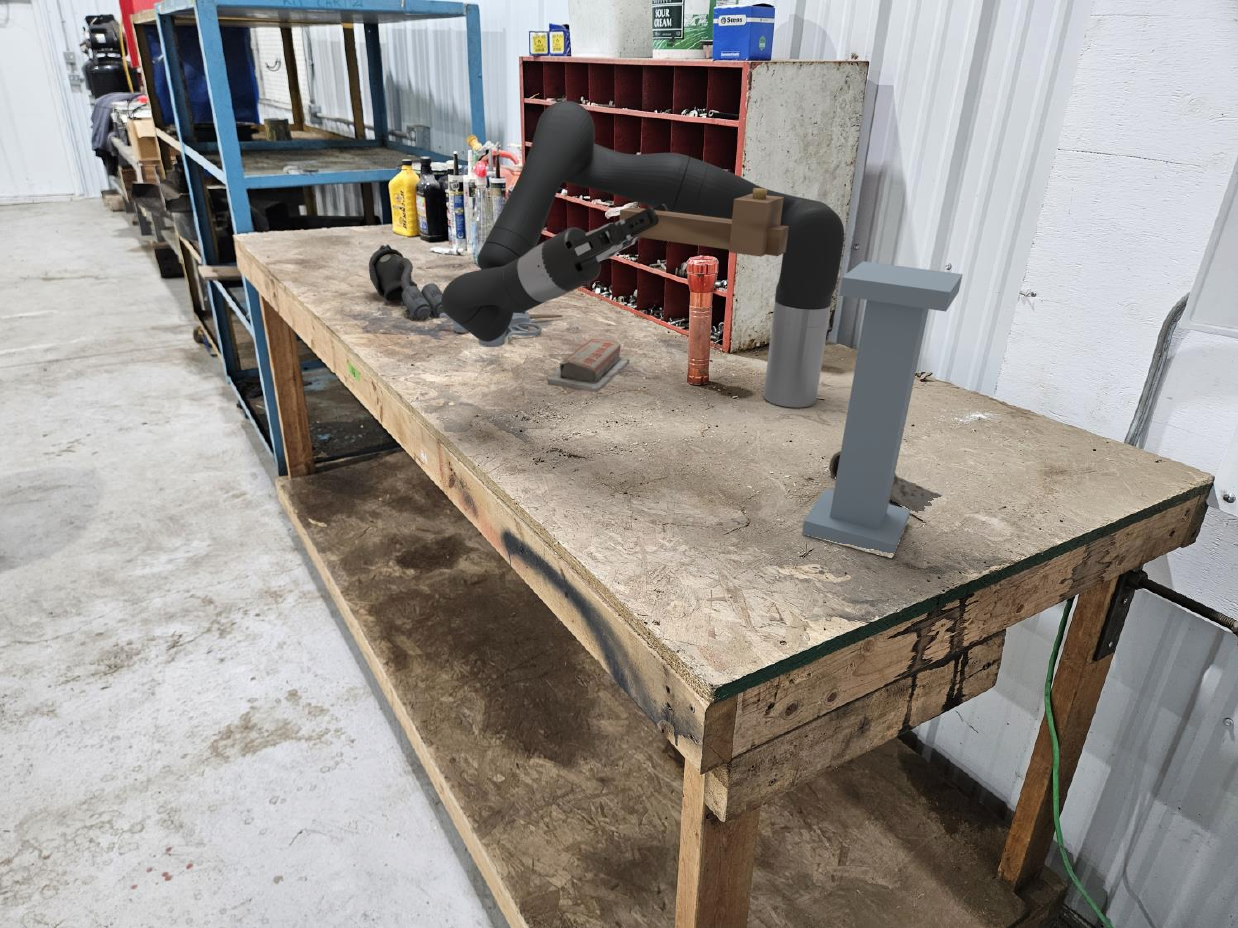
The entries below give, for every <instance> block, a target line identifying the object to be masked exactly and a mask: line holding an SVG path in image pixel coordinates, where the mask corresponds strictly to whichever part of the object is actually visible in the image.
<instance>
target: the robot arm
mask: <svg viewBox="0 0 1238 928" xmlns="http://www.w3.org/2000/svg"><path fill="white" fill-rule="evenodd" d="M535 129H536V130H535V132H534V135H533V139H532V142H531V146H530V148H529V151H528V154H527V156H526V158H525V162H524V163H523V165H522V166H523V167H522V169H521V171H520V172H519V173H520V174H519V175H518V178H517V179H516V182H515V183H514V186H513V188H512V190H511V193H510V194H509V196H508V199H507V200H506V202H505V204H504V205H503V208H502V209H501V211H500V214H498V216H497V219H496V221H495V222H494V224H493V226H492V228H491V230H490V231H489V233H488V235H487V237H486V240H485V241H484V242H483V245H482V246H481V249H480V251H479V252H478V255H477V259H476V261H477V265H478V267H479V270H474V271H469V272H466V273H463V274H461V275H459V276H457V277H455V278H454V279H453V280H451V281H450V282H449V283H448V284H447V285H446V287H445V288H444V290H443V291H442V293H443V294H442V298H441V304H442V308H443V310H444V312H445V313H446V314H447V315H448V316H449V317H450V318H451V319H450V320H452V321H453V320H454V321H455V322H456V323H458V324H459V325H460V326H462V327H463V328H464V329H466V330H467V331H469V334H471V335H472V336H474V337H475V338H477V339H478V340H479V339H480V340H481V341H485V342H490V341H493V340H496V339H497V338H499V337H500V336H502V335H503V334H504V332H505V331H506V330H507V328H508V327H509V325H510V322H511V320H512V317H513V313H522V312H525V311H527V312H528V311H530V310H531V309H533V308H535V307H538V306H540V305H542V304H544V303H547V302H548V301H551V300H555V299H558V298H560V297H563V296H564V295H566V294H568V293H570V292H572V291H575V290H577V289H579V288H581V287H583V286H585V285H587V284H589V283H591V282H594V281H595V280H596V279H597V278H598V277H599V276H600V273H601V270H602V261H603V260H608V259H611V258H613V257H614V256H616V255H618V254H619V252H621V251H622V250H624V249H627V248H629V247H630V246H633V245H635V243H636V241H638V240H639V239H642V237H635V235H637V234H639V233H641V232H643V231H645V230H647V229H649V228H651V227H653V226H655V225H657V224H658V218H657V216H656V213H655V210H658V211H667V212H675V213H683V214H691V215H700V216H708V217H716V218H724V219H732V216H733V205H734V199H737V198H740V197H743V196H746V195H749V194H753V189H754V188H762V189H767V195H768V196H777V197H784V199H783V207H782V215H781V223H780V225H782V226H789V229H788V237H787V244H786V252H785V253H783V254H782V259H781V266H780V274H779V278H778V282H777V284H776V288H775V294H774V295H775V296H774V304H773V305H774V306H773V312H772V321H771V322H772V323H771V330H770V336H769V347H768V355H767V365H766V370H765V376H764V378H765V379H764V385H763V387H764V388H763V398H764V400H766V401H768V403H769V402H770V403H771V404H774V405H777V406H780V407H786V408H805V407H810V406H813V405H814V404H816V402H817V396H818V392H819V391H818V390H819V384H820V379H821V371H822V365H823V358H824V352H825V347H826V346H825V344H826V340H827V339H826V338H827V333H828V327H829V326H828V324H829V317H830V313H831V305H832V301H833V300H832V299H833V294H834V292H835V290H836V287H837V284H838V277H839V272H840V267H841V260H842V255H843V248H844V243H845V229H844V223H843V220H842V219H841V217H840V216H839V215H838V213H837V212H836V211H835V210H834V209H832V208H831V207H830V206H829V205H828V204H826V203H825V202H822V201H818V200H814V199H811V198H809V199H808V198H804V197H800V196H796V195H790V194H786V193H781V192H778V191H774V190H772V189H769V188H765V187H762V186H760V185H757V184H756V183H753V182H751V181H750V180H747V179H745V178H743V177H741V176H739V175H737V174H735V173H734V172H731V171H728V170H727V169H723V168H721V167H718V166H716V165H714V164H711V163H708V162H707V161H703V160H700V159H698V158H694V157H691V156H689V155H686V154H681V153H676V152H659V153H643V154H640V153H639V154H631V153H629V154H628V153H623V152H619V151H616V150H613V149H610V148H608V147H604V146H602V145H600V144H597V143H595V139H596V132H595V131H596V129H595V124H594V120H593V117H592V115H591V114H590V112H589V111H588V109H586V108H585V107H584V106H583V105H581V104H579V103H578V102H575V101H572V100H571V101H570V100H561V101H556V102H554V103H552V104H550V105H549V106H547V107H546V109H544V111H543V112H542V113H541V115H540V116H539V119H538V121H537V124H536V128H535ZM562 183H566V184H569V185H573V186H578V187H582V188H586V189H591V190H594V191H595V190H596V191H600V192H604V193H608V194H611V195H615V196H618V197H621V198H624V199H627V200H629V201H633V202H635V203H639V204H641V205H645V206H648V207H647V208H644V209H645V210H643V211H641V212H639V213H637V214H636V215H634V216H632V217H630V218H628V219H627V221H626V219H624V220H623V219H621V220H620V219H619V220H618V221H616V222H609V223H606V224H603V226H600V227H599V228H596V229H592V230H590V231H588V232H586V231H585V230H583V229H581V228H579V227H576V226H575V227H569V228H566V229H565V230H563V231H562V232H558V233H557V234H556V235H554V236H552V237H550V238H548V239H547V240H545V241H542V242H541V243H539V240H540V238H541V236H542V232H543V230H544V227H545V225H546V222H547V219H548V216H549V213H550V211H551V208H552V205H553V202H554V200H555V198H556V195H557V194H558V191H559V189H560V186H561V185H562ZM632 233H633V235H632ZM538 243H539V244H538Z"/></svg>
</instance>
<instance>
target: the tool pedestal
mask: <svg viewBox="0 0 1238 928" xmlns="http://www.w3.org/2000/svg"><path fill="white" fill-rule="evenodd" d="M962 278H963V273H956V272H949V271H940V270H934V269H925V268H917V267H910V266H903V265H894V264H886V263H879V262H871V261H861V262H860V263H859V264H858V265H857V266H855V267H854V268H852V269H851V270H850V271H848V272H847V273H846V274H845V275H843V276H842V277H841V281H840V288H839V294H838V295H839V297H846V298H853V299H857V300H859V299H860V300H864V301H865V300H866V302H865V307H864V314H863V320H862V326H861V331H860V336H859V337H860V338H859V342H858V350H857V355H856V360H855V366H854V372H853V378H852V379H853V380H852V385H851V390H850V391H851V392H850V394H849V395H850V397H849V401H848V408H847V413H846V418H845V419H846V420H845V427H844V432H843V437H842V443H841V449H840V451H841V453H840V459H839V465H838V471H837V477H836V479H835V483H834V490H833V489H829V488H825V489H824V490H823V492H822V493H821V495H820V496H819V498H818V499H817V501H816V502H815V504H814V505H813V507H812V508H811V509H810V511H809V513H808V514H807V516H806V517H805V518H804V521H803V526H802V534H805V535H809V536H813V537H818V538H821V539H826V540H830V541H833V542H837V543H842V544H850V545H854V546H857V547H862V548H866V549H874V550H879V551H882V552H887V553H893V554H894V552H895V550H896V547H897V545H898V543H899V540H900V538H901V536H902V533H903V531H904V529H905V526H906V524H907V521H908V522H909V520H910V516H911V514H910V511H911V510H910V509H906V508H902V507H900V506H899V505H898V506H897V505H893V504H890V501H891V500H890V495H891V490H892V485H893V480H894V476H895V474H896V471H897V466H898V465H897V464H898V461H899V456H900V452H901V450H900V449H901V446H902V440H903V436H904V433H905V432H904V431H905V426H906V422H907V417H908V416H907V415H908V412H909V407H910V402H911V398H912V393H913V387H914V383H915V377H916V374H917V373H916V372H917V367H918V363H919V360H920V359H919V358H920V354H921V353H920V352H921V349H922V344H923V338H924V334H925V328H926V325H927V321H928V320H927V319H928V315H929V310H934V311H940V312H947V311H948V309H949V308H950V306H951V304H952V303H953V301H954V300H955V299H956V297H957V296H958V294H959V292H960V288H961V283H962ZM908 519H909V520H908ZM907 525H908V524H907ZM906 527H907V526H906ZM905 530H906V529H905ZM904 532H905V531H904ZM802 534H801V535H802ZM903 534H904V533H903ZM805 535H804V536H805ZM809 536H808V537H809ZM902 537H903V536H902ZM901 539H902V538H901ZM900 541H901V540H900ZM899 544H900V543H899ZM898 546H899V545H898ZM896 551H897V550H896ZM895 553H896V552H895Z"/></svg>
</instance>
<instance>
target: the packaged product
mask: <svg viewBox="0 0 1238 928" xmlns="http://www.w3.org/2000/svg"><path fill="white" fill-rule="evenodd" d="M621 345H622V344H620V343H618V342H616V340H615V341H614V340H608V339H602V338H591V339H590V340H588V341H587V342H585V343H584V344H583V345H581V346H580V347H579V348H578V349H576V350H575V351H574V352H572V353H571V354H570V355H569V356H567V357H566V358H564V359H563V360H562V361H561V362H560V364H559V369H556V371H554V372H553V373H552V374H550V375H549V376H547V377H546V383H547V385H549V386H550V385H551V386H555V387H563V388H569V389H575V390H583V391H588V392H594V393H598V392H599V391H601V390H602V388H603V387H604V386H605V385H607V383H609V382H610V381H612V379H613V378H614V377H615V376H617V375H618V374H619V373H620V371H621V370H623V368H625V366H627V365H628V364H629V362H630V361H631V360H630V358H625V357H620V353H621Z"/></svg>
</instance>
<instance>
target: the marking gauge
mask: <svg viewBox="0 0 1238 928" xmlns="http://www.w3.org/2000/svg"><path fill="white" fill-rule="evenodd" d="M767 189H768V188H765V189H762V188H754V189H753V194H749V195H746V196H743V197H740V198H737V199H734V205H733V216H732V219H724V218H716V217H708V216H700V215H691V214H683V213H675V212H667V211H658V210H655V213H656V216H657V218H658V224H657V225H655V226H653V227H651V228H649V229H647V230H645V231H643V232H641V233H639V234H637V235H635V237H642V238H643V239H650V240H658V241H665V242H672V243H679V244H685V245H693V246H700V247H701V246H702V247H708V248H717V249H723V250H728V252H729V253H732V254H738V255H747V256H753V257H763V256H766V255H768V256H773V257H779V256H781V255H783V253H785V252H786V244H787V237H788V229H789V226H782V225H780V223H781V215H782V207H783V199H784V197H777V196H768V195H767ZM645 209H646V208H642V207H641V208H640V207H632V206H630V207H627V208H623V209H620V210H619V220H621V219H623V220H624V219H626V221H627V219H628V218H630V217H632V216H634V215H636V214H637V213H639V212H641V211H643V210H645ZM632 235H633V233H632ZM642 238H641V239H642Z"/></svg>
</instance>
